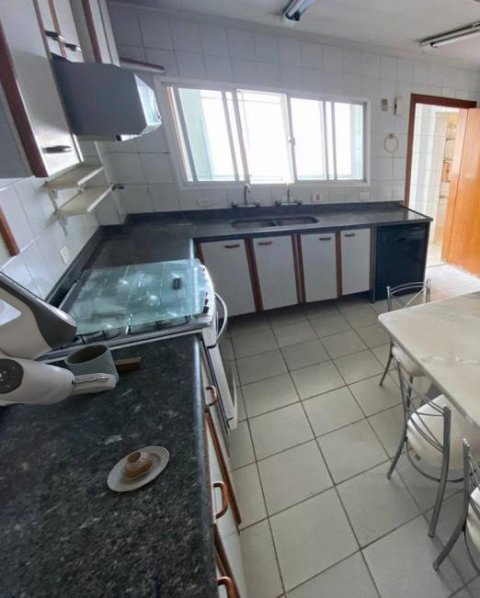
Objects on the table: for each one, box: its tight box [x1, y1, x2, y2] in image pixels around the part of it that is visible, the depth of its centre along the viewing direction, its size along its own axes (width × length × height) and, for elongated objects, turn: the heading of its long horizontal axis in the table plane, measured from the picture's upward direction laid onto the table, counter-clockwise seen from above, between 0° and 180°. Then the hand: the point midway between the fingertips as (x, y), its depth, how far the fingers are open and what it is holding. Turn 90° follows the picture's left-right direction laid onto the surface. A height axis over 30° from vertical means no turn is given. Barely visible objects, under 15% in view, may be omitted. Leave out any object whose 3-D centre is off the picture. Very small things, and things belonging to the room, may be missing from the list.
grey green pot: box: [64, 343, 120, 394], centre depth 102 cm, size 10×10×12 cm
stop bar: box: [113, 356, 143, 373], centre depth 110 cm, size 16×3×3 cm, turn 112°
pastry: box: [106, 445, 170, 493], centre depth 78 cm, size 12×12×5 cm
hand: (80, 391), depth 91 cm, fingers closed
